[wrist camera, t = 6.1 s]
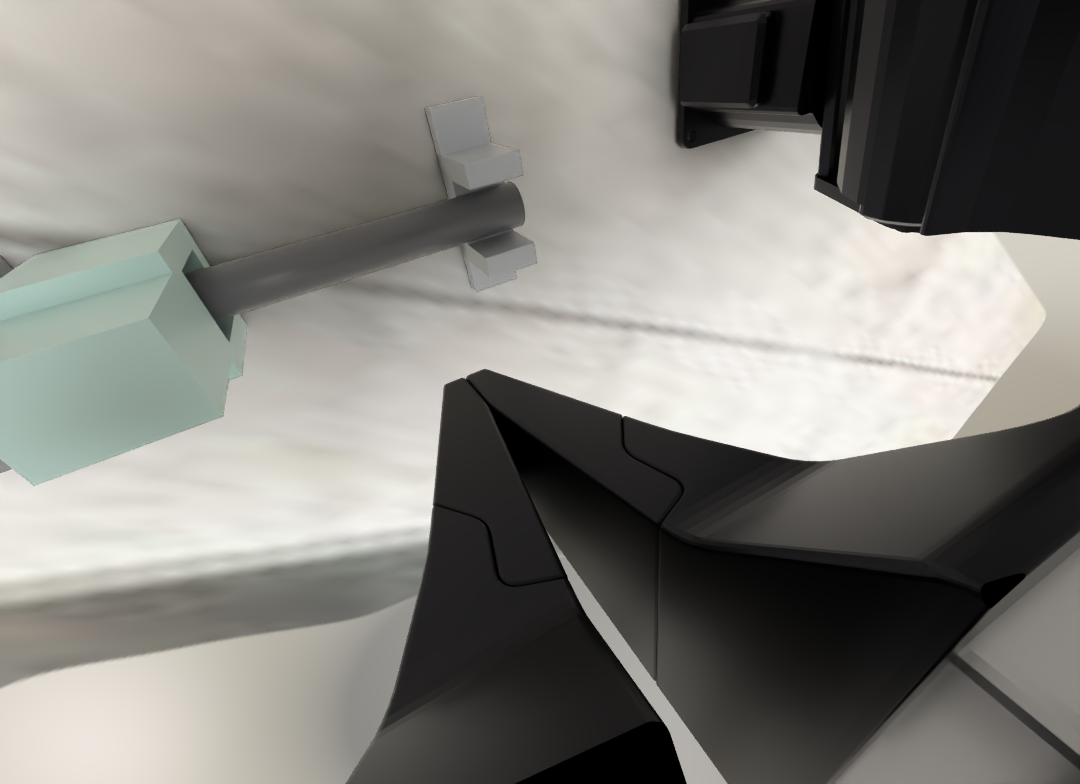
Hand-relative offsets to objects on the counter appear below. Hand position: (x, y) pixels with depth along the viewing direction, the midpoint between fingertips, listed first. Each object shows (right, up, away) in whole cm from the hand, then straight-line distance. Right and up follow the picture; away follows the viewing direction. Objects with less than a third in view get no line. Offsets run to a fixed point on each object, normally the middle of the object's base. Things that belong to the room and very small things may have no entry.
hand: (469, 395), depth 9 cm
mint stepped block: (-12, +3, +7) cm, 14 cm away
